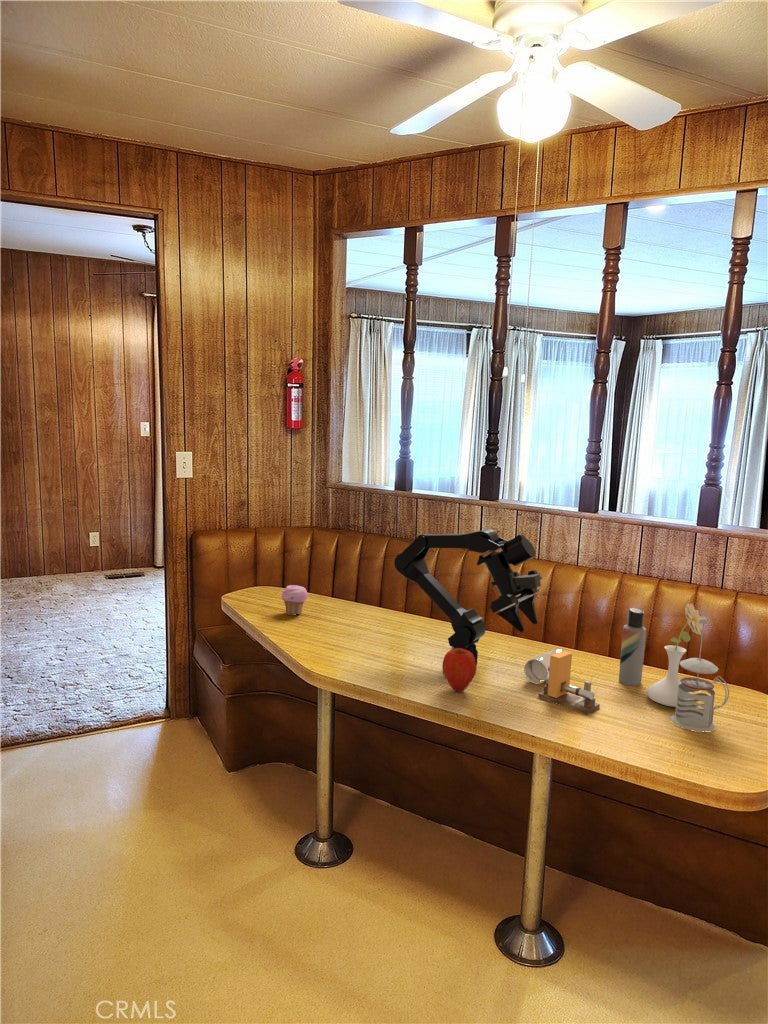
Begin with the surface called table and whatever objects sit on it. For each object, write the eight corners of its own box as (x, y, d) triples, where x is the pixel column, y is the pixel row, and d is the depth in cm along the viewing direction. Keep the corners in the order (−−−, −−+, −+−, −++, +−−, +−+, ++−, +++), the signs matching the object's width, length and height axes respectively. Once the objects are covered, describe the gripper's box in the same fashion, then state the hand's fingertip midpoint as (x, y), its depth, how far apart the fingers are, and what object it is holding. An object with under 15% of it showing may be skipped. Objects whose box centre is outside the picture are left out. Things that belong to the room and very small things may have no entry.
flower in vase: (671, 714, 163) (682, 612, 160) (635, 696, 173) (644, 600, 170) (710, 707, 169) (721, 608, 165) (672, 690, 179) (682, 596, 176)
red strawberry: (437, 684, 175) (440, 643, 174) (470, 684, 176) (473, 643, 175) (444, 697, 167) (446, 654, 166) (478, 697, 168) (481, 654, 166)
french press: (679, 710, 165) (689, 609, 162) (730, 726, 157) (742, 620, 154) (663, 722, 158) (673, 616, 155) (716, 739, 150) (728, 628, 147)
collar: (547, 694, 168) (550, 655, 166) (560, 689, 172) (563, 650, 171) (556, 698, 166) (559, 658, 165) (568, 692, 170) (572, 653, 169)
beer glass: (546, 669, 192) (523, 682, 180) (546, 645, 192) (523, 656, 180) (570, 674, 188) (548, 687, 176) (570, 648, 187) (548, 660, 175)
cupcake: (282, 610, 238) (283, 581, 236) (307, 610, 238) (308, 582, 237) (280, 617, 229) (280, 588, 228) (306, 618, 229) (307, 588, 228)
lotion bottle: (634, 678, 186) (640, 606, 184) (645, 686, 181) (652, 612, 178) (614, 678, 185) (621, 606, 183) (625, 686, 180) (632, 612, 177)
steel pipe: (545, 686, 170) (545, 678, 170) (549, 684, 172) (549, 677, 172) (590, 701, 162) (591, 693, 162) (594, 699, 163) (594, 691, 163)
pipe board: (538, 697, 170) (539, 677, 169) (554, 689, 175) (556, 670, 175) (587, 714, 160) (588, 694, 160) (603, 706, 166) (604, 686, 165)
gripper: (513, 565, 169) (543, 623, 166) (540, 555, 185) (567, 608, 182) (477, 584, 175) (505, 640, 172) (506, 572, 191) (532, 624, 188)
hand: (529, 627), depth 178 cm, fingers open, 9 cm apart
